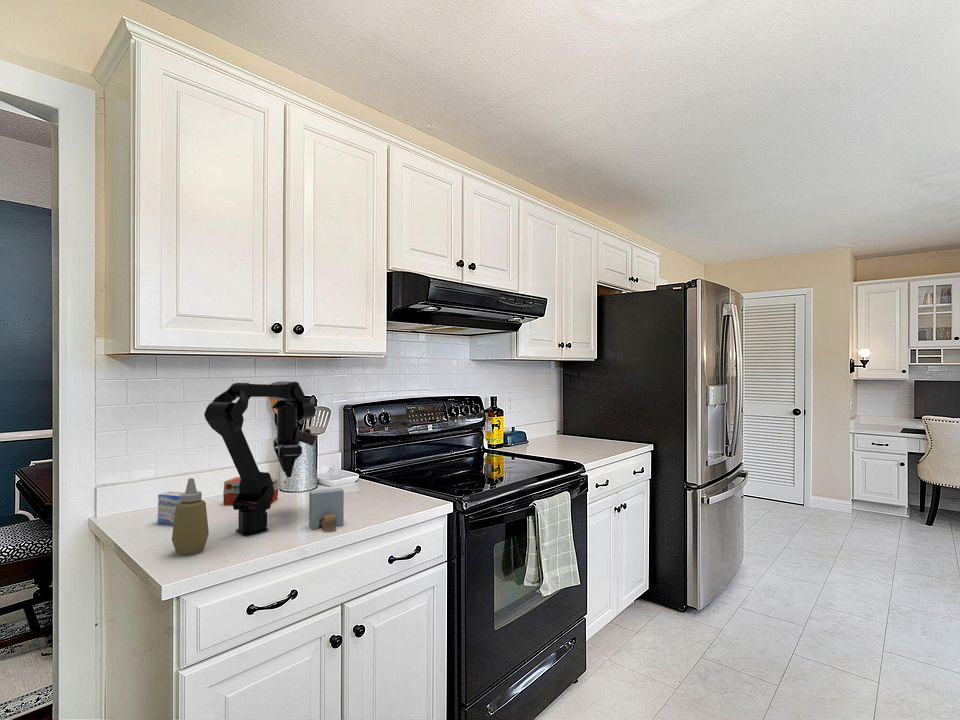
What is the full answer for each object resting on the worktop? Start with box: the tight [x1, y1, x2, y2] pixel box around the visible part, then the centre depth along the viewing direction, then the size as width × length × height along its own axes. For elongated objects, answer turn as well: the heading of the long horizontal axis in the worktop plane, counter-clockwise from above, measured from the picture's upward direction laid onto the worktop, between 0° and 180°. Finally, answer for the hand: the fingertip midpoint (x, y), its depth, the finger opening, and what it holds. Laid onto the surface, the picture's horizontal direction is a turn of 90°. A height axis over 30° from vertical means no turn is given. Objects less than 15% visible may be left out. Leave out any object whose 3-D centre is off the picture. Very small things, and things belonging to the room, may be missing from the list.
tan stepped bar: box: [319, 514, 337, 533], centre depth 149 cm, size 12×3×4 cm, turn 28°
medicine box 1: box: [157, 491, 183, 526], centre depth 150 cm, size 8×4×9 cm, turn 76°
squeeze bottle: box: [171, 477, 210, 556], centre depth 128 cm, size 8×8×18 cm
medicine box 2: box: [223, 476, 279, 506], centre depth 173 cm, size 15×8×8 cm, turn 90°
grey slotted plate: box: [308, 487, 345, 530], centre depth 149 cm, size 9×4×10 cm, turn 117°
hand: (286, 474), depth 157 cm, fingers open, 9 cm apart
